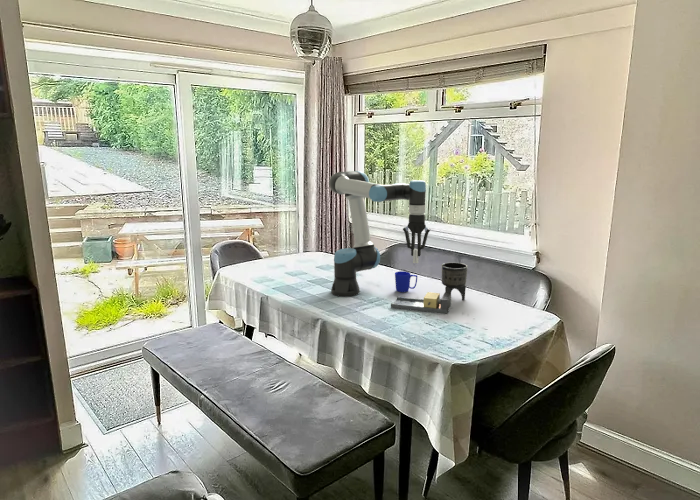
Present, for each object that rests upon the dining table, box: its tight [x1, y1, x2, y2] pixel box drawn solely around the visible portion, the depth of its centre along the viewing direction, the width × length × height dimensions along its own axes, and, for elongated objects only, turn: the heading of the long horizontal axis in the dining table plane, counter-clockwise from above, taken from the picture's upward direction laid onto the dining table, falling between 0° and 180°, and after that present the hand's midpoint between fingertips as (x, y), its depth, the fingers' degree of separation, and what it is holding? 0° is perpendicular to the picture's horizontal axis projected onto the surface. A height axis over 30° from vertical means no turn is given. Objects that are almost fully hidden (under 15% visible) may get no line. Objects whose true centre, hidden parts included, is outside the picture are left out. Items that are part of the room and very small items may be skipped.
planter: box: [441, 261, 469, 301], centre depth 241 cm, size 13×13×18 cm
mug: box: [394, 271, 418, 293], centre depth 255 cm, size 8×12×10 cm
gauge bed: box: [390, 296, 452, 315], centre depth 231 cm, size 27×12×2 cm, turn 70°
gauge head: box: [423, 291, 441, 308], centre depth 227 cm, size 7×12×5 cm, turn 160°
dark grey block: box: [440, 291, 452, 312], centre depth 226 cm, size 3×12×6 cm, turn 160°
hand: (415, 262), depth 227 cm, fingers closed
